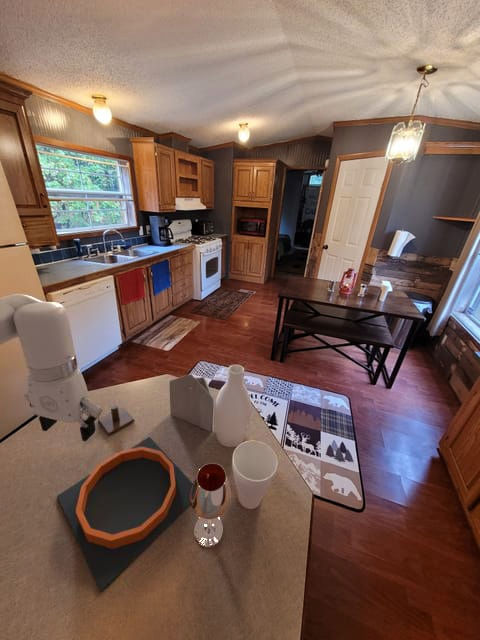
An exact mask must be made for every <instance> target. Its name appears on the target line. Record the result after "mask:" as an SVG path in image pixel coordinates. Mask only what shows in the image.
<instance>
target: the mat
mask: <svg viewBox="0 0 480 640" xmlns="http://www.w3.org/2000/svg"><path fill="white" fill-rule="evenodd" d="M138 447H146V448H150V449H154V450H158V451H161V452H162V453H163V454H164V455H165V456H166V457H167V458H168V459H169V460H170V461H171V463H172V464H173V465H174V475H175V484H176V494H175V496H174V499H173V501H172V503H171V506H170V508H169V510H168V513H167V515H166V517H165V519H164V520H163V521H162V522H160V523H159V524H158V525H157V526H156V527H155V528H154V529H153V530H152V531H151V532H150V533H149V534H148V535H147V536H146V537H144V538H143V539H142V540H139V541H136V542H133V543H130V544H127V545H124V546H121V547H117V548H114V549H111V548H108V547H104V546H101V545H98V544H95V543H92V542H89V541H88V540H87V538H86V536H85V534H84V532H83V530H82V528H81V526H80V524H79V522H78V519H77V515H76V508H77V503H78V499H79V494H80V490H81V487H82V485H83V484H84V483H85V481H86V480H87V479H88V477H89V476H90V475H91V474H92V473H90V474H88V475H87V476H85V477H84V478H82V479H81V480H79V481H77V482H76V483H74V484H73V485H72V486H70V487H69V488H66V489H65V490H64V491H61V492H60V493H59V494H57V495H56V498H57V500H58V501H59V504H60V506H61V508H62V511H63V514H64V516H65V518H66V519H67V521H68V524H69V525H70V528H71V531H72V532H73V535H74V537H75V539H76V541H77V543H78V545H79V548H80V550H81V553H82V554H83V556H84V558H85V561H86V563H87V565H88V567H89V569H90V571H91V574H92V577H93V578H94V580H95V582H96V585H97V588H98V589H99V592H100V593H102V592H103V591H104V590H105V589H107V587H108V586H109V585H110V584H111V583H113V581H114V580H115V579H116V578H117V577H119V576H120V575H121V573H123V572H124V571H125V570H126V569H127V568H128V567H129V566H130V565H131V564H132V563H133V562H134V561H135V560H136V559H137V558H138V557H139V556H140V555H141V554H142V553H143V552H144V551H145V550H146V549H147V548H148V547H150V545H152V543H153V542H154V541H155V540H156V539H157V538H159V537H160V536H161V534H163V533H164V531H166V530H167V529H168V528H169V527H170V526H171V525H172V524H173V523H174V522H175V521H176V520H177V519H178V518H179V517H180V516H181V515H182V514H183V513H184V512H185V511H186V510H187V509H188V508H189V507H191V502H190V492H191V488H192V485H193V482H192V481H191V480H190V479H189V478H188V476H187V475H186V474H185V473H184V471H182V470H181V469H180V468H179V467H178V466H177V465H176V464H175V462H173V460H172V459H171V458H170V457H169V456H168V454H166V453H165V452H164V451H163V449H162V448H161V447H160V446H159V445H158V444H157V443H156V442H155V441H154V440H153V438H151V436H148V437H146V438H145V439H143V440H142V441H140V442H138V443H137V444H135V445H134V446H132V447H131V448H130V449H134V448H138ZM170 487H171V480H170V473H169V472H168V471H167V470H166V469H165V468H164V467H163V465H162V464H161V463H160V462H159V461H155V460H151V459H147V458H143V457H141V458H137V459H132V460H128V461H123V462H121V463H119V464H118V465H116V466H115V467H113V468H112V469H110V470H109V471H107V472H106V473H104V474H103V475H102V476H101V477H100V479H99V480H98V481H97V483H96V484H95V485H94V487H93V488H92V490H91V491H90V492H89V494H88V496H87V501H86V506H85V511H84V516H85V518H86V520H87V522H88V524H89V526H90V528H92V529H95V530H98V531H102V532H105V533H108V534H112V535H114V534H118V533H121V532H124V531H127V530H131V529H134V528H137V527H140V526H141V525H142V524H143V523H145V522H146V521H147V520H148V519H149V518H150V517H151V516H152V515H154V514H155V513H156V512H157V511H158V510H159V509H160V508H161V507H162V505H163V503H164V501H165V498H166V496H167V494H168V492H169V490H170ZM134 559H135V560H134ZM133 560H134V561H133ZM132 561H133V562H132ZM131 562H132V563H131ZM130 563H131V564H130ZM129 564H130V565H129ZM128 565H129V566H128ZM127 566H128V567H127ZM126 567H127V568H126Z"/></svg>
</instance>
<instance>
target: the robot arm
mask: <svg viewBox="0 0 480 640" xmlns="http://www.w3.org/2000/svg"><path fill="white" fill-rule="evenodd" d="M72 335H73V334H72V331H71V325H70V321H69V315H68V310H67V309H66V308H65V306H63V305H62V304H60V303H58V302H52V301H42V300H39V299H37V298H35V297H33V296H30V295H29V294H28V295H27V294H23V293H13V294H9V295H5V296H2V297H0V346H2V345H3V344H5V343H7V342H9V341H12V340H13V339H16V338H18V339H19V343H20V346H21V350H22V353H23V357H24V359H25V364H26V367H27V370H28V373H27V379H26V380H27V393H25V394H24V395H23V397H24V398H25V399H26V401H27V402H28V403H29V407H30V408H31V409H32V411H33V413H34V415H35V416H36V417H38V420H39V423H40V427H41V431H43V432H47V431H48V430H50V429H51V428H52V427H53V426H54V425H55V424H57V422H63V423H69V424H72V423H76V422H77V423H78V424H79V425H80V427H79V431H80V436H81V440H82V442H87V441H88V440H89V439H90V438H91V437H92V436H93V435H94V434H95V432H96V425H95V422H96V421H97V420H98V418H100V415H101V414H102V412H103V408H102V407H100V406H99V405H97V404H96V403H94V402H93V401H91V400H90V399H91V398H90V394H89V390H88V387H87V384H86V380H85V378H84V376H83V374H82V371H81V369H79V366H78V360H77V355H76V351H75V345H74V341H73V336H72ZM84 414H85V416H87V418H84V417H82V416H83V415H84Z"/></svg>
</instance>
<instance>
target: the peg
mask: <svg viewBox="0 0 480 640" xmlns="http://www.w3.org/2000/svg"><path fill="white" fill-rule="evenodd" d="M97 421H98V423H99V424H100V425H101V427H102V428H103V429H104V431H105V432H106V434H107V435H108V436H112V435H113V434H115V433H117V432H118V431H120V430H122V429H123V428H125V427H127V426H129V425H130V424H132V423H134V422H135V418H134V417H133V416H132V415H131V414H130V412H128V411H127V410H126V409H125V407H123V406H120V407H119V406H118V404H112V405H111V406H110V412H109V413H106V414H105V415H103V416H101V417H100V416H99V417H98V418H97Z"/></svg>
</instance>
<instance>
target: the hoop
mask: <svg viewBox="0 0 480 640" xmlns="http://www.w3.org/2000/svg"><path fill="white" fill-rule="evenodd" d="M141 457H143V458H147V459H151V460H155V461H159V462H160V463H161V464H162V465H163V467H164V468H165V469H166V470H167V471H168V472H169V473H170V480H171V487H170V490H169V492H168V494H167V496H166V498H165V501H164V503H163V505H162V507H161V508H160V509H159V510H158V511H157V512H156V513H155V514H154V515H152V516H151V517H150V518H149V519H148V520H147V521H146V522H145V523H143V524H142V525H141V526H140V527H137V528H134V529H131V530H127V531H124V532H121V533H118V534H114V535H112V534H108V533H105V532H102V531H98V530H95V529H92V528H90V526H89V524H88V522H87V520H86V518H85V516H84V511H85V506H86V501H87V496H88V494H89V492H90V491H91V490H92V488H93V487H94V485H95V484H96V483H97V481H98V480H99V479H100V477H101V476H102V475H103V474H104V473H106V472H107V471H109V470H110V469H112V468H113V467H115V466H116V465H118V464H119V463H121V462H123V461H128V460H132V459H137V458H141ZM171 461H172V460H171ZM171 461H170V460H169V459H168V458H167V457H166V456H165V455H164V454H163V453H162V452H161V451H158V450H154V449H150V448H146V447H138V448H134V449H131V448H130V449H125V450H120V451H118V452H117V453H115V454H113V455H112V456H110V457H108V458H107V459H105V460H104V461H102V462H101V463H99V464H98V465H97V466H96V467H95V468H94V469H93V471H92V472H91V473H90V474H91V475H90V474H89V475H90V476H89V475H88V476H89V477H88V479H87V480H86V481H85V483H84V484H83V485H82V487H81V490H80V494H79V499H78V503H77V508H76V515H77V519H78V522H79V524H80V526H81V528H82V530H83V532H84V534H85V536H86V538H87V540H88V541H89V542H92V543H95V544H98V545H101V546H104V547H108V548H111V549H114V548H117V547H121V546H124V545H127V544H130V543H133V542H136V541H139V540H142V539H143V538H144V537H146V536H147V535H148V534H149V533H150V532H151V531H152V530H153V529H154V528H155V527H156V526H157V525H158V524H159V523H160V522H162V521H163V520H164V519H165V517H166V515H167V513H168V510H169V508H170V506H171V503H172V501H173V499H174V496H175V494H176V484H175V475H174V465H173V464H172V463H171Z"/></svg>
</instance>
